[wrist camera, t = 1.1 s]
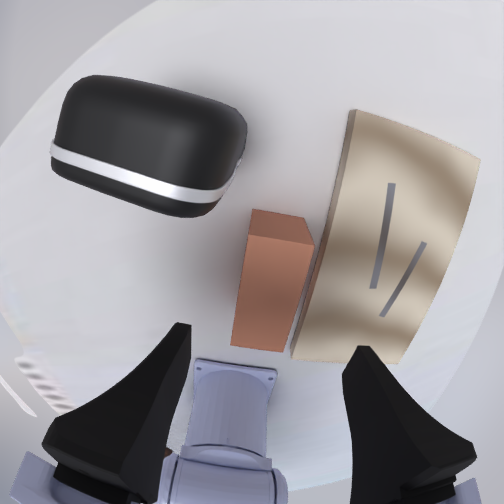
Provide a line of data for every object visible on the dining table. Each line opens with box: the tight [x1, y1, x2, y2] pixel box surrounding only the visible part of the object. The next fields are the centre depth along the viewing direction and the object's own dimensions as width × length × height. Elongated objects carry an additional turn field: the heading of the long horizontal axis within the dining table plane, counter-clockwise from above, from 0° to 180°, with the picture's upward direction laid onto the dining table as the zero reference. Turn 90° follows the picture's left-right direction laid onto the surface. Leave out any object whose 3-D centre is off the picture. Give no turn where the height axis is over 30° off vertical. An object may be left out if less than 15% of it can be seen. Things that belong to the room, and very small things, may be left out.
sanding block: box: [230, 209, 315, 352], centre depth 19 cm, size 8×4×5 cm, turn 171°
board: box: [290, 110, 481, 364], centre depth 20 cm, size 20×11×2 cm, turn 171°
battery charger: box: [50, 75, 247, 218], centre depth 12 cm, size 7×4×11 cm, turn 69°
